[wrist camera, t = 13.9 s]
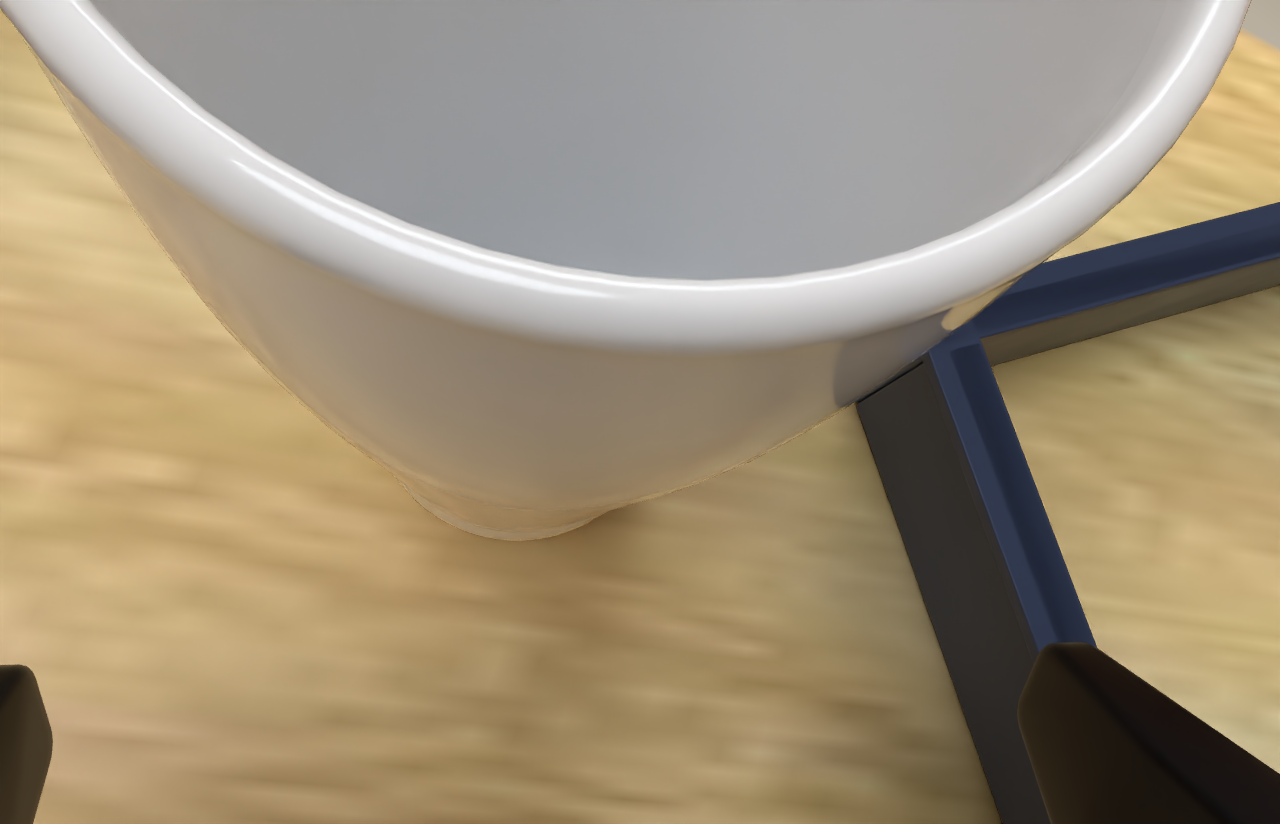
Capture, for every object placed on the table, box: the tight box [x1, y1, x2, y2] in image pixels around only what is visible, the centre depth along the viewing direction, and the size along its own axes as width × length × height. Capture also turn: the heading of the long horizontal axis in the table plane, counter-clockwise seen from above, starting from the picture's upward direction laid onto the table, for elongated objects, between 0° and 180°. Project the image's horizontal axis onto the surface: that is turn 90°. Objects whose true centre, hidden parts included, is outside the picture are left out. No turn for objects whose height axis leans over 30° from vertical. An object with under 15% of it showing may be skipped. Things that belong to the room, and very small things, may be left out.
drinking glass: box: [0, 0, 1251, 541], centre depth 12 cm, size 7×7×15 cm
